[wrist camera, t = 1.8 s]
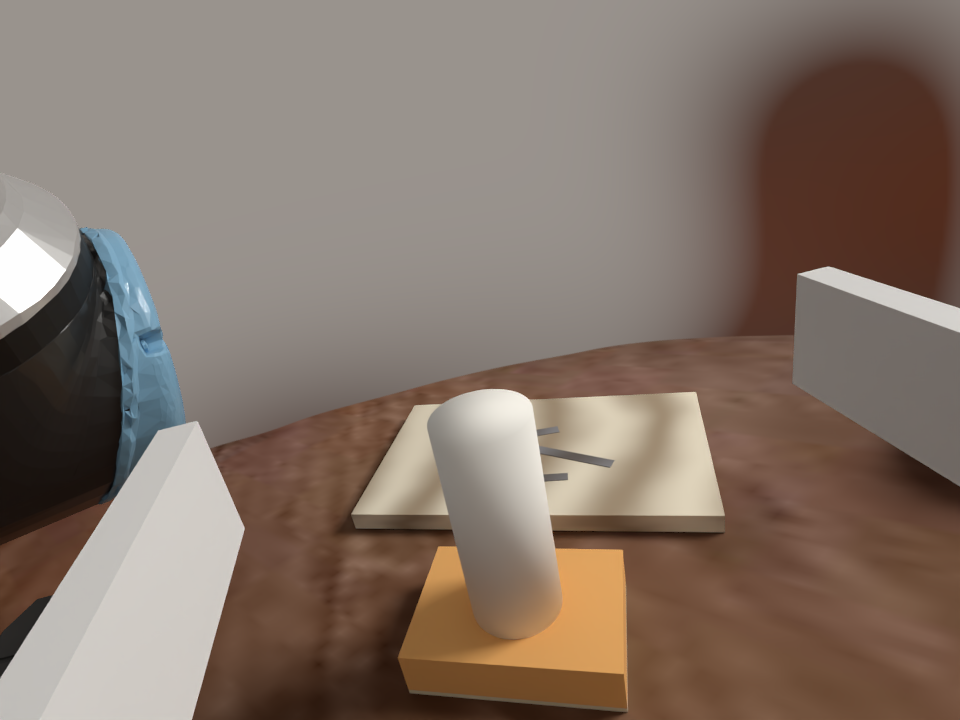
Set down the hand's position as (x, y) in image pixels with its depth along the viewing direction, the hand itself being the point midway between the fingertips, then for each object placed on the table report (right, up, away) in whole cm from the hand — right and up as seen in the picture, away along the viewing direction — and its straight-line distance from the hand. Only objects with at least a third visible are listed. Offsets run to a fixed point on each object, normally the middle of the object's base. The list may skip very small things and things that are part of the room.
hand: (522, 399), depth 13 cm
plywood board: (+3, -7, +30) cm, 30 cm away
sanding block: (+1, -13, +17) cm, 21 cm away
